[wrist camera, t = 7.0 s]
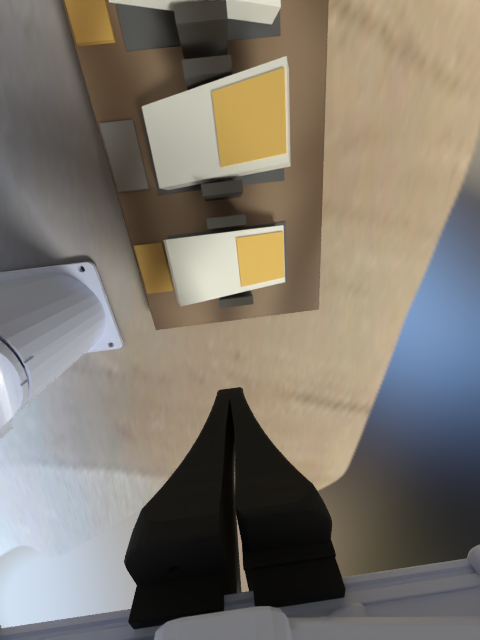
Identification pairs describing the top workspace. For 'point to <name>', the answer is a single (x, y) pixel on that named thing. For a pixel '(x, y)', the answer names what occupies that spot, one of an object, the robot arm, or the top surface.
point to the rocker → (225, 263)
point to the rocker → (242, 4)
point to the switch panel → (223, 195)
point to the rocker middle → (222, 128)
